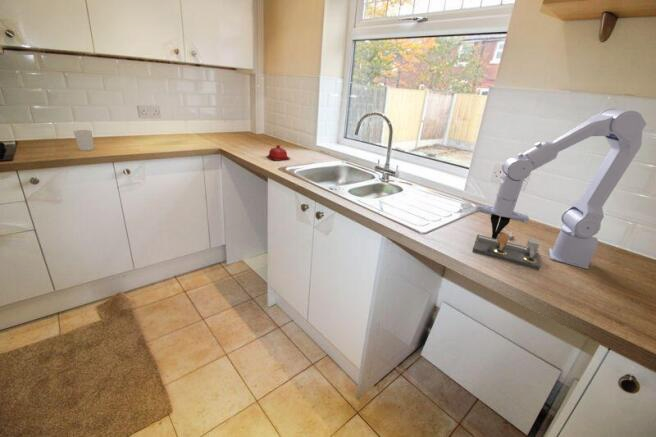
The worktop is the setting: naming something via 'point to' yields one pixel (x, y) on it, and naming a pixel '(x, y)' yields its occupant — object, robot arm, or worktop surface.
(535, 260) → the hole plate
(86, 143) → the white cup
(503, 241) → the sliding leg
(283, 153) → the butter dish
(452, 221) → the worktop surface
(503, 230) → the adjustable wrench
